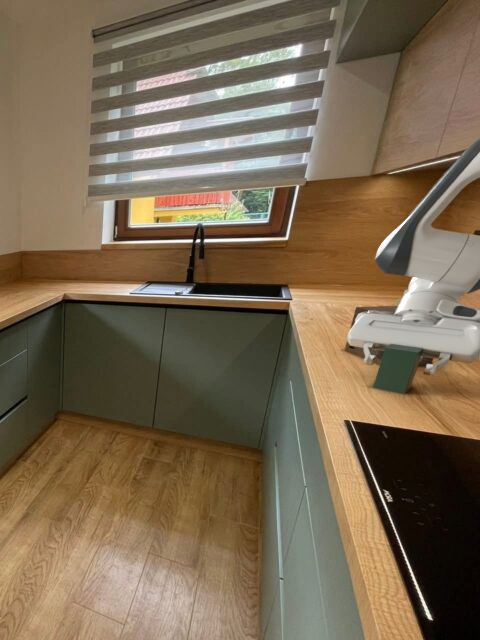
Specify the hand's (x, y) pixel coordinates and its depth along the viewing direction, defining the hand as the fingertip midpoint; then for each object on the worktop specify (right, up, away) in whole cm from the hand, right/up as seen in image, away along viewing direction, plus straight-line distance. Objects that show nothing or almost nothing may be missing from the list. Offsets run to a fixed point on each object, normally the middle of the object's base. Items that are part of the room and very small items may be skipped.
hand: (396, 368), depth 90 cm
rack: (+17, +3, +20) cm, 26 cm away
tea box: (+1, -4, +2) cm, 5 cm away
